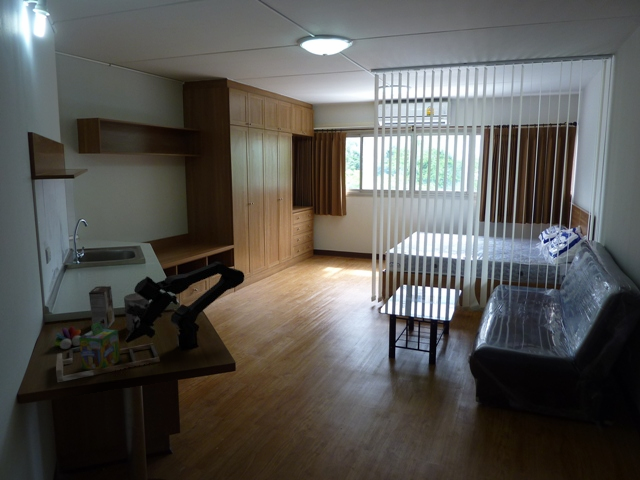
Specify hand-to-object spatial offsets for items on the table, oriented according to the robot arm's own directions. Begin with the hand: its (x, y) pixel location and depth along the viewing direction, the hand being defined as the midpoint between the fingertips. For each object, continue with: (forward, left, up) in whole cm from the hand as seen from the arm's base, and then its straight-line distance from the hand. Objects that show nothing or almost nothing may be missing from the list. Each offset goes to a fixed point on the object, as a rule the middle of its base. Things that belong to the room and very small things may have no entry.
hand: (126, 341), depth 167 cm
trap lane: (+6, -5, -7) cm, 10 cm away
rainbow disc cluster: (+19, -25, -7) cm, 32 cm away
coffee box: (+5, -42, -7) cm, 43 cm away
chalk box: (+8, 0, -7) cm, 11 cm away
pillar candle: (-8, -32, -7) cm, 34 cm away
